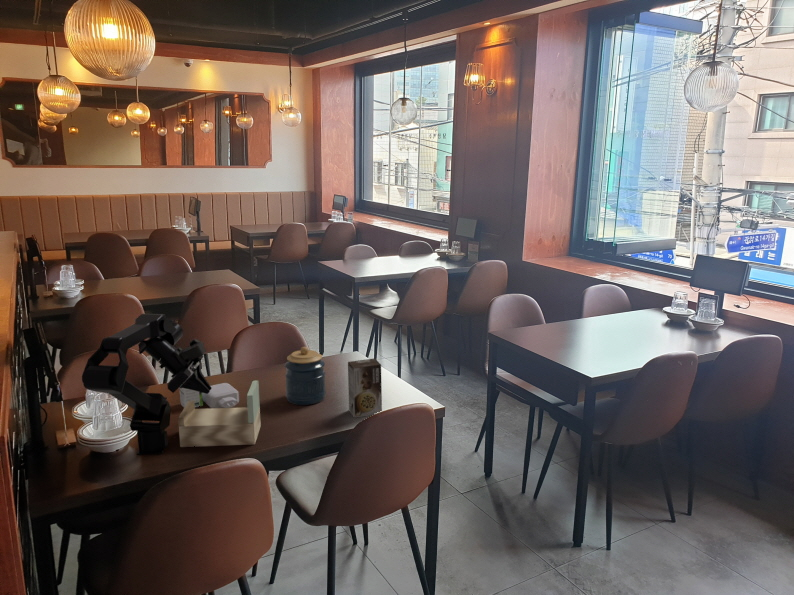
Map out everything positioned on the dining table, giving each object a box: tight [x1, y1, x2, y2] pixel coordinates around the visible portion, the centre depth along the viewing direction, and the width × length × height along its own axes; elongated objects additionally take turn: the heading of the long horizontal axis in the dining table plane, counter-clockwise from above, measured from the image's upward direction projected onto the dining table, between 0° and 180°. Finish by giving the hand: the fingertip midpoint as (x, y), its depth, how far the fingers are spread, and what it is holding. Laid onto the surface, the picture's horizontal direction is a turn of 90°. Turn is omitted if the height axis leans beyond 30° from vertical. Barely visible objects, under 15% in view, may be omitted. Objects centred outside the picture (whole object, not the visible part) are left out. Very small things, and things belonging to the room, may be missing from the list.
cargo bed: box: [177, 401, 262, 448], centre depth 172 cm, size 20×12×8 cm, turn 95°
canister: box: [284, 346, 327, 406], centre depth 200 cm, size 13×13×18 cm
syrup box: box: [178, 361, 204, 409], centre depth 194 cm, size 6×6×14 cm
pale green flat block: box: [246, 380, 261, 423], centre depth 172 cm, size 2×12×8 cm, turn 5°
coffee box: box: [347, 358, 383, 418], centre depth 189 cm, size 9×6×16 cm
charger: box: [202, 382, 240, 409], centre depth 195 cm, size 5×9×15 cm
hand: (209, 391), depth 170 cm, fingers closed
